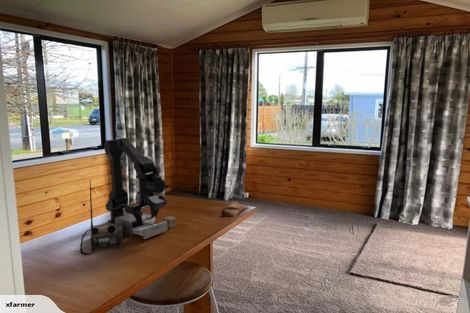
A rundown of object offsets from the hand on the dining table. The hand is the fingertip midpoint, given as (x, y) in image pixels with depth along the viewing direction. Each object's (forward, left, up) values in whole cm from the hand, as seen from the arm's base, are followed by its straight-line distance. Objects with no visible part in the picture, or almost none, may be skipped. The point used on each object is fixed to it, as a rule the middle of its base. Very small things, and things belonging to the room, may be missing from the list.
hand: (147, 223), depth 154 cm
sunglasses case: (+13, +47, -5) cm, 49 cm away
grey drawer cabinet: (-9, 0, -4) cm, 10 cm away
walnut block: (+1, +12, -4) cm, 13 cm away
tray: (0, 0, -4) cm, 4 cm away
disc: (0, 0, +1) cm, 1 cm away
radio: (-4, -20, -5) cm, 21 cm away
